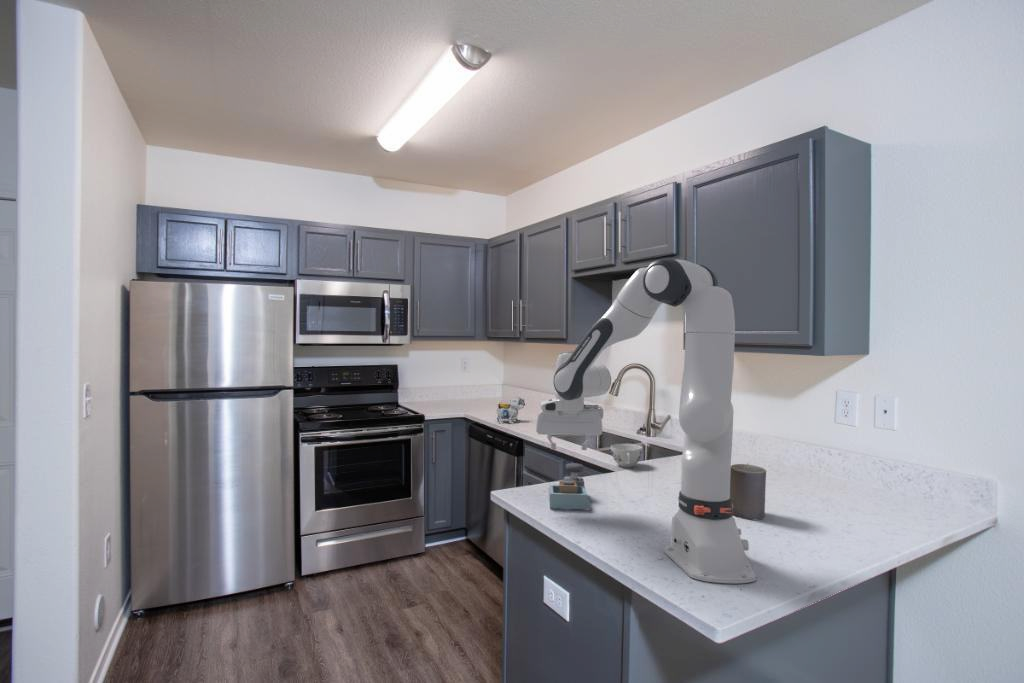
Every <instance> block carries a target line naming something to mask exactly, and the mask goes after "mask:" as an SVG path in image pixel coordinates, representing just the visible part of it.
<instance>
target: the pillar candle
mask: <svg viewBox="0 0 1024 683" xmlns="http://www.w3.org/2000/svg"><path fill="white" fill-rule="evenodd" d="M766 481H767V470H766V469H765V468H764V467H761V466H757V465H753V464H749V463H746V464H744V463H735V464H731V474H730V497H731V498H732V503H733V517H737V518H739V517H740V519H744V518H745V520H750V519H758V520H762V518H763V519H764V518H765V511H766V485H767V484H766V483H767V482H766Z"/></svg>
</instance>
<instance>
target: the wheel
mask: <svg viewBox="0 0 1024 683" xmlns="http://www.w3.org/2000/svg"><path fill="white" fill-rule="evenodd" d="M565 471H567V472H569V473H570V477H571V479H573V480H575V481H577V477H578V473H582V472H584V465H583V464H581V463H577V462H576V463H575V462H569V463H566V464H565Z"/></svg>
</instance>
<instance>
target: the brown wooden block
mask: <svg viewBox="0 0 1024 683" xmlns="http://www.w3.org/2000/svg"><path fill="white" fill-rule="evenodd" d="M558 485H559V493H573V494H577V484H576V481H573V479H564V478H563V479H562V480H560V479H559V484H558Z"/></svg>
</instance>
